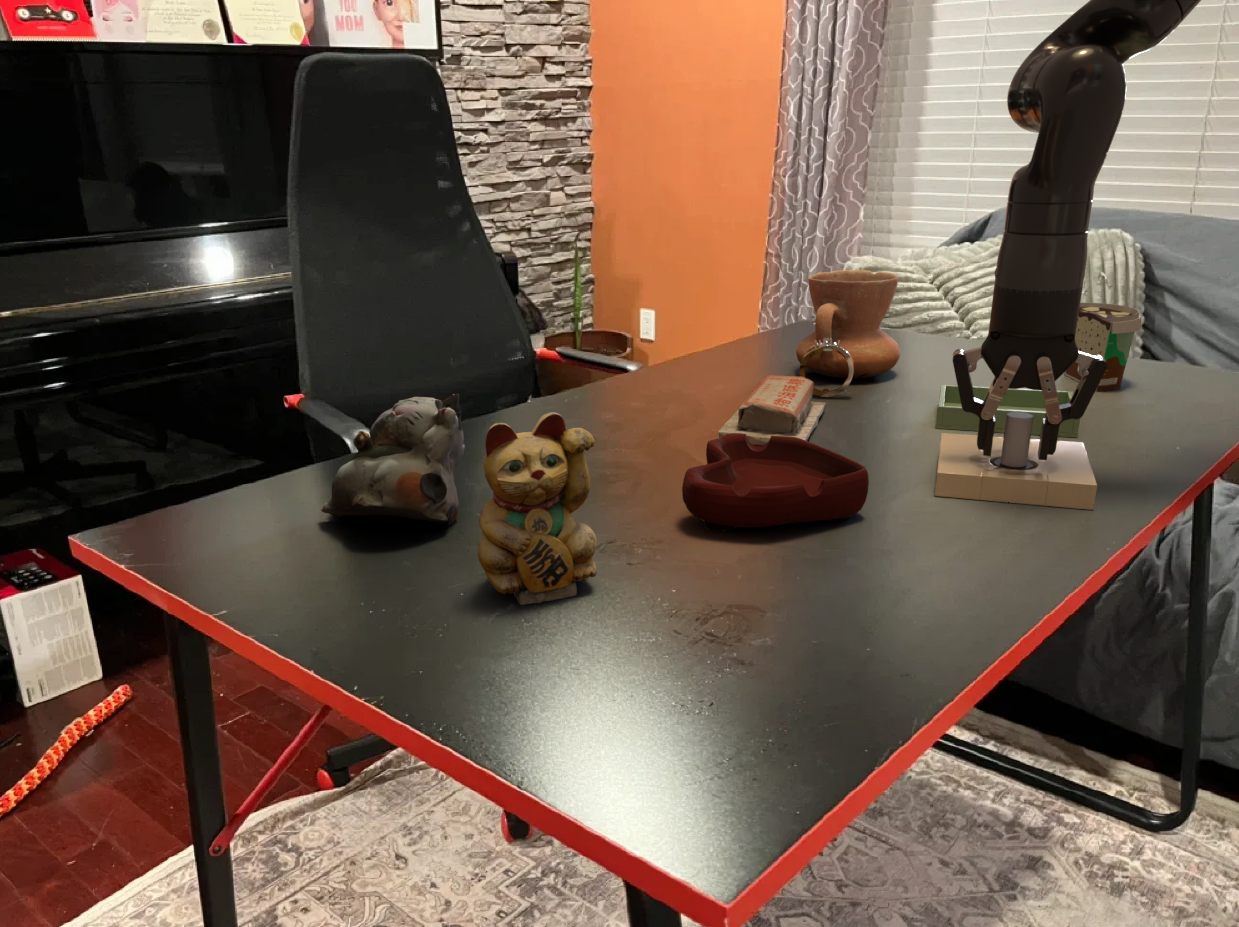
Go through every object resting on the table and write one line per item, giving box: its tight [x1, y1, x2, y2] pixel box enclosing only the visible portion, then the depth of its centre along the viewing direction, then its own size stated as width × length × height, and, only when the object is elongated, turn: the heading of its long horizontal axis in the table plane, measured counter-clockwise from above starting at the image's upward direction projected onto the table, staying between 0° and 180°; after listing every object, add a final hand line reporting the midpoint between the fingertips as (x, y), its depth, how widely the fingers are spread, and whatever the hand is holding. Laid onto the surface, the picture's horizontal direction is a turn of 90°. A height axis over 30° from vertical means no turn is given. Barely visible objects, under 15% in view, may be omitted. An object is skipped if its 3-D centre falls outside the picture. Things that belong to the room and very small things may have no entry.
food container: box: [1063, 302, 1142, 392], centre depth 137 cm, size 12×6×10 cm, turn 179°
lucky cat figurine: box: [319, 393, 466, 526], centre depth 98 cm, size 15×12×14 cm
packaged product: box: [717, 374, 827, 446], centre depth 123 cm, size 18×5×10 cm
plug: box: [994, 412, 1033, 470], centre depth 100 cm, size 4×4×7 cm
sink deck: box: [934, 432, 1098, 511], centre depth 103 cm, size 14×14×2 cm
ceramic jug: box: [795, 269, 901, 379], centre depth 145 cm, size 18×14×14 cm
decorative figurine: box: [477, 411, 598, 605], centre depth 81 cm, size 10×8×15 cm
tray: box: [935, 384, 1081, 438], centre depth 123 cm, size 15×11×3 cm
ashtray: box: [681, 433, 870, 532], centre depth 97 cm, size 18×16×5 cm
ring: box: [799, 337, 855, 398], centre depth 135 cm, size 7×3×8 cm, turn 66°
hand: (1014, 454), depth 101 cm, fingers open, 4 cm apart
